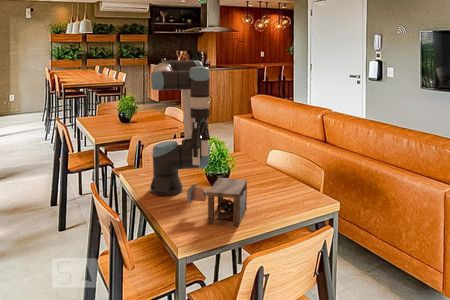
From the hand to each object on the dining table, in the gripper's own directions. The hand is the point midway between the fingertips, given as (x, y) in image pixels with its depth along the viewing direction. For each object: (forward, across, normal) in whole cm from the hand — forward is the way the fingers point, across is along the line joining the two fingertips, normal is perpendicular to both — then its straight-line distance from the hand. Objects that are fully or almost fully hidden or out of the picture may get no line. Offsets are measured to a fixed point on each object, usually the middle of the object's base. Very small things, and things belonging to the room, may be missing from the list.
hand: (200, 160), depth 168 cm
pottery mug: (+23, -1, -11) cm, 26 cm away
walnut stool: (+23, -1, -11) cm, 26 cm away
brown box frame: (+22, -1, -6) cm, 23 cm away
